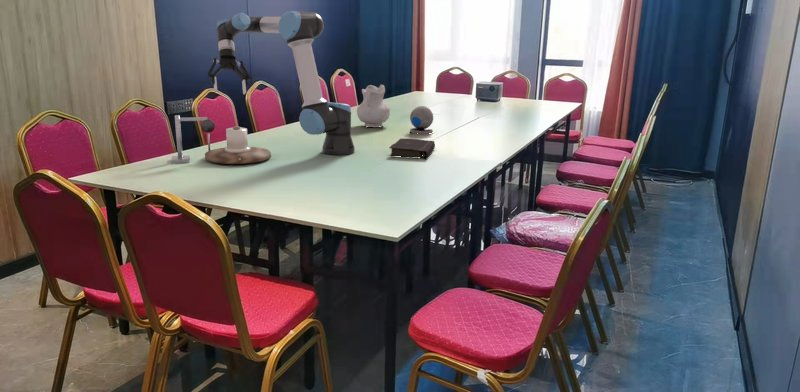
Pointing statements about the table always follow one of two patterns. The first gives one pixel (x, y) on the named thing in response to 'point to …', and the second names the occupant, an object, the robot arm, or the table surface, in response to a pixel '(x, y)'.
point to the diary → (412, 148)
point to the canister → (237, 140)
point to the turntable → (238, 156)
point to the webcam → (421, 120)
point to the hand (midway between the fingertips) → (230, 92)
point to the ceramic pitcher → (373, 107)
